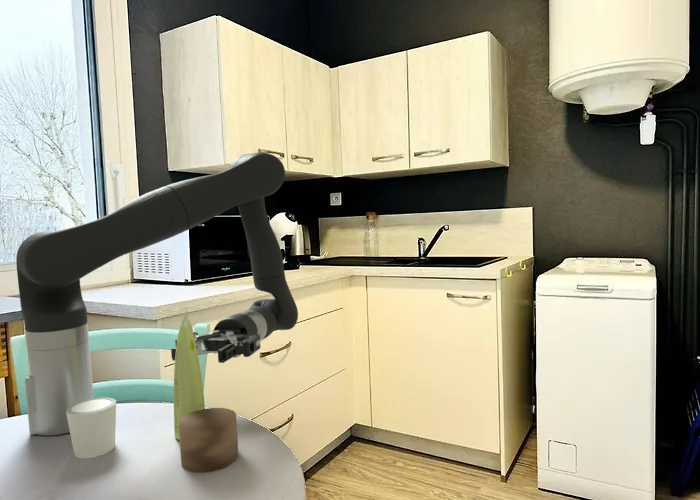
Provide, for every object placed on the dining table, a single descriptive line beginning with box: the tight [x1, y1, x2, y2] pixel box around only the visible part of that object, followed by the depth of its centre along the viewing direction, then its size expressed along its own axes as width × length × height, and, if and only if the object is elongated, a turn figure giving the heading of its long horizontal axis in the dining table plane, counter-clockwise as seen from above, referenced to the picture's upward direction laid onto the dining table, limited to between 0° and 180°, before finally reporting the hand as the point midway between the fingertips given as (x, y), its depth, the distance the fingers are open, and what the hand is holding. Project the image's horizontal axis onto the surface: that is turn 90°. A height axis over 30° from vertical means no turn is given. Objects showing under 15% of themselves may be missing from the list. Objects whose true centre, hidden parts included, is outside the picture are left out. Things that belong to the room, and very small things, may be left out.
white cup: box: [66, 397, 117, 459], centre depth 78 cm, size 7×7×7 cm
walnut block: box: [179, 407, 239, 474], centre depth 74 cm, size 8×8×6 cm
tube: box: [173, 310, 206, 441], centre depth 81 cm, size 6×5×20 cm
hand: (196, 355), depth 84 cm, fingers open, 8 cm apart
